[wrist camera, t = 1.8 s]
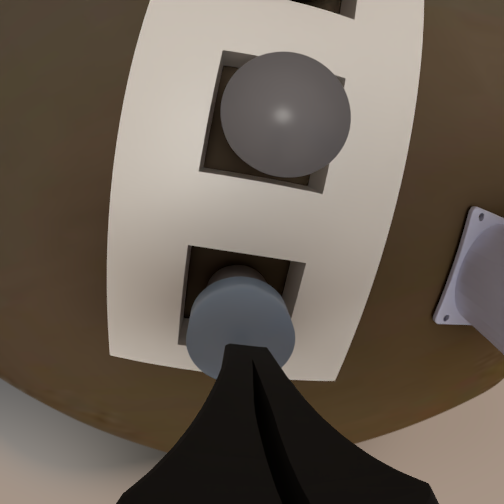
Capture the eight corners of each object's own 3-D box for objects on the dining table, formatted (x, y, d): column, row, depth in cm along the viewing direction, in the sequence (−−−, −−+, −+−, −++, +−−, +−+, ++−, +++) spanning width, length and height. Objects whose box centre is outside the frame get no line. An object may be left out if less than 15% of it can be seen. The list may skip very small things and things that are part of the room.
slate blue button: (286, 261, 15) (307, 303, 11) (269, 332, 16) (281, 386, 12) (200, 248, 14) (191, 287, 10) (191, 323, 15) (182, 376, 11)
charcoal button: (323, 90, 12) (359, 71, 8) (306, 176, 13) (337, 189, 9) (232, 70, 12) (234, 40, 8) (215, 159, 13) (209, 164, 9)
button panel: (402, -26, 11) (423, -41, 8) (323, 354, 18) (334, 381, 16) (197, -76, 9) (194, -101, 7) (122, 329, 17) (110, 355, 14)
